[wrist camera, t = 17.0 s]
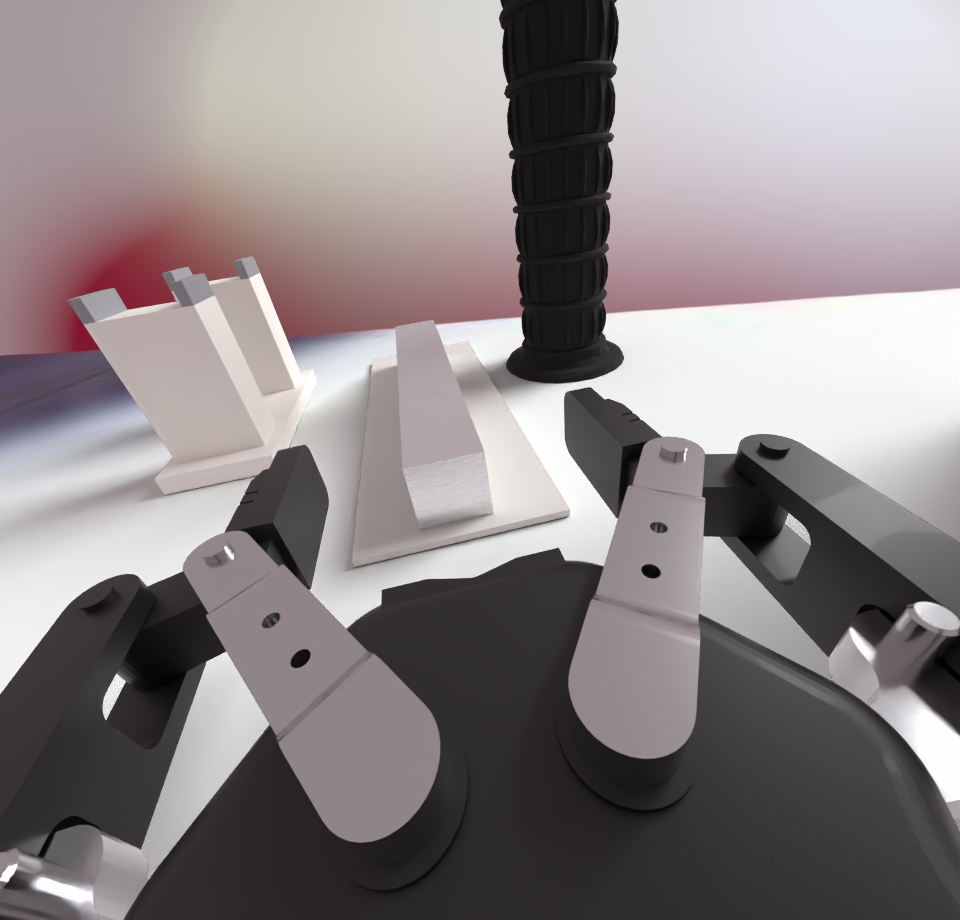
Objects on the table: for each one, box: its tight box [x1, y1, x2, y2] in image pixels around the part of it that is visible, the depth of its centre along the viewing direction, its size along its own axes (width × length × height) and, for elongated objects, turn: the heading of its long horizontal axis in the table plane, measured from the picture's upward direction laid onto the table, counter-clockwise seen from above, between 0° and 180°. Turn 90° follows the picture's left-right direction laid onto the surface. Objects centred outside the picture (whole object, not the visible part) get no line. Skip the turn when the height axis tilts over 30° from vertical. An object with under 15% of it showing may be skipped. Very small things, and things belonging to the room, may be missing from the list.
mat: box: [352, 341, 570, 567], centre depth 29 cm, size 10×28×1 cm, turn 11°
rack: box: [68, 256, 317, 495], centre depth 29 cm, size 7×16×11 cm, turn 11°
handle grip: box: [499, 0, 624, 383], centre depth 28 cm, size 10×26×10 cm
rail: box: [396, 320, 494, 531], centre depth 27 cm, size 24×4×4 cm, turn 11°
